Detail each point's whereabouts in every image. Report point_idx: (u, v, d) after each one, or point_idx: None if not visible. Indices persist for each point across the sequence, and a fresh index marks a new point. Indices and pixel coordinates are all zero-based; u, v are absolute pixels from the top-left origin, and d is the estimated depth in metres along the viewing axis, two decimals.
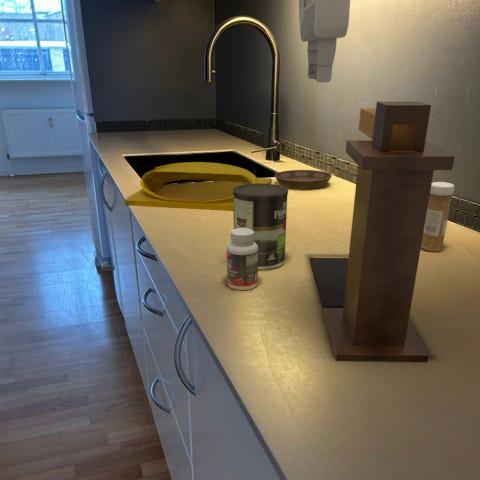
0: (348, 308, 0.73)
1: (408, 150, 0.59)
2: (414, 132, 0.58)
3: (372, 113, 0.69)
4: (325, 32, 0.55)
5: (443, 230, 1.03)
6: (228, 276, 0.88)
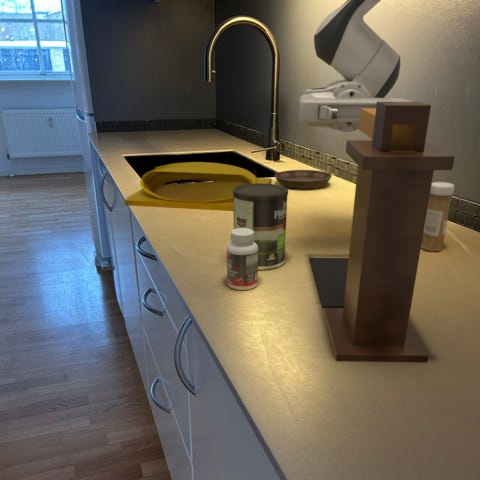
0: (348, 308, 0.73)
1: (408, 150, 0.59)
2: (414, 132, 0.58)
3: (372, 113, 0.69)
4: None
5: (443, 230, 1.03)
6: (228, 276, 0.88)
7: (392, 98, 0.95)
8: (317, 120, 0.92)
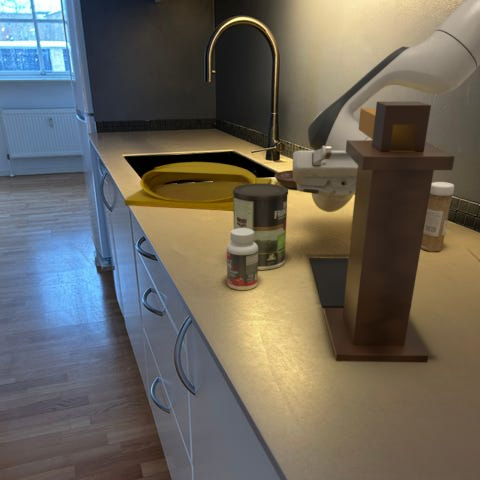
0: (348, 308, 0.73)
1: (408, 150, 0.59)
2: (414, 132, 0.58)
3: (372, 113, 0.69)
4: None
5: (443, 230, 1.03)
6: (228, 276, 0.88)
7: None
8: (311, 167, 0.92)
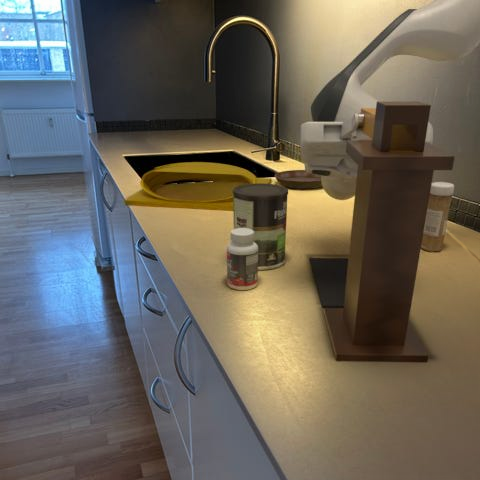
0: (348, 308, 0.73)
1: (408, 150, 0.59)
2: (414, 132, 0.58)
3: (372, 113, 0.69)
4: (432, 129, 0.77)
5: (443, 230, 1.03)
6: (228, 276, 0.88)
7: None
8: (323, 141, 0.77)
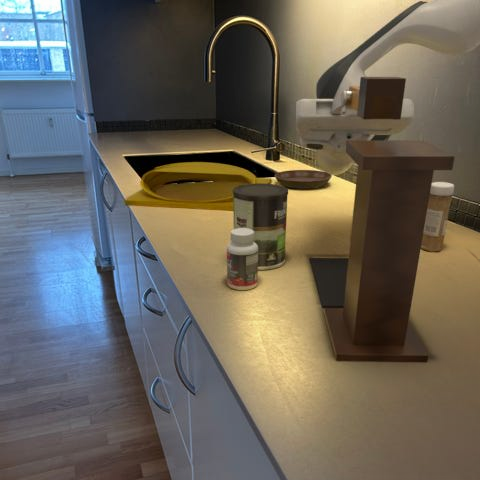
0: (348, 308, 0.73)
1: (387, 118, 0.68)
2: (392, 102, 0.68)
3: (358, 89, 0.78)
4: (413, 105, 0.87)
5: (443, 230, 1.03)
6: (228, 276, 0.88)
7: None
8: (315, 116, 0.87)
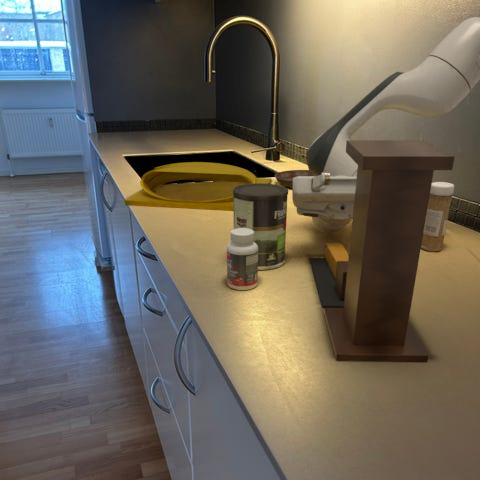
0: (348, 308, 0.73)
1: None
2: None
3: (334, 257, 0.93)
4: None
5: (443, 230, 1.03)
6: (228, 276, 0.88)
7: None
8: (311, 193, 0.93)
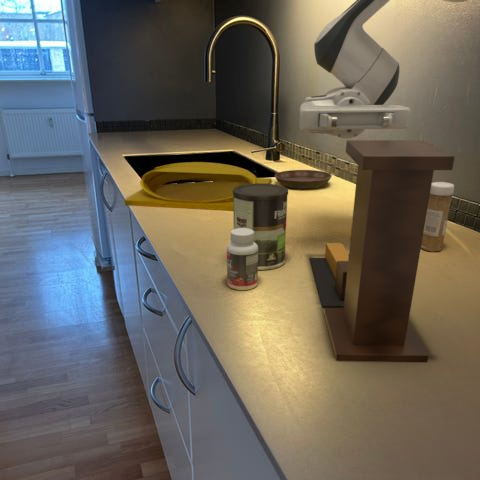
0: (348, 308, 0.73)
1: None
2: None
3: (334, 257, 0.93)
4: (409, 114, 0.93)
5: (443, 230, 1.03)
6: (228, 276, 0.88)
7: (391, 105, 0.96)
8: (317, 128, 0.94)
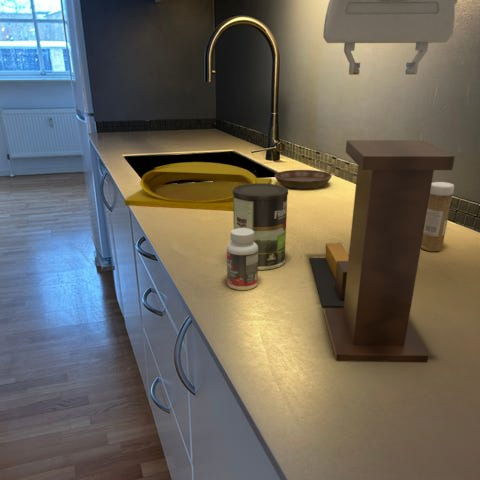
0: (348, 308, 0.73)
1: None
2: None
3: (334, 257, 0.93)
4: (448, 39, 0.82)
5: (443, 230, 1.03)
6: (228, 276, 0.88)
7: (442, 2, 0.79)
8: None
